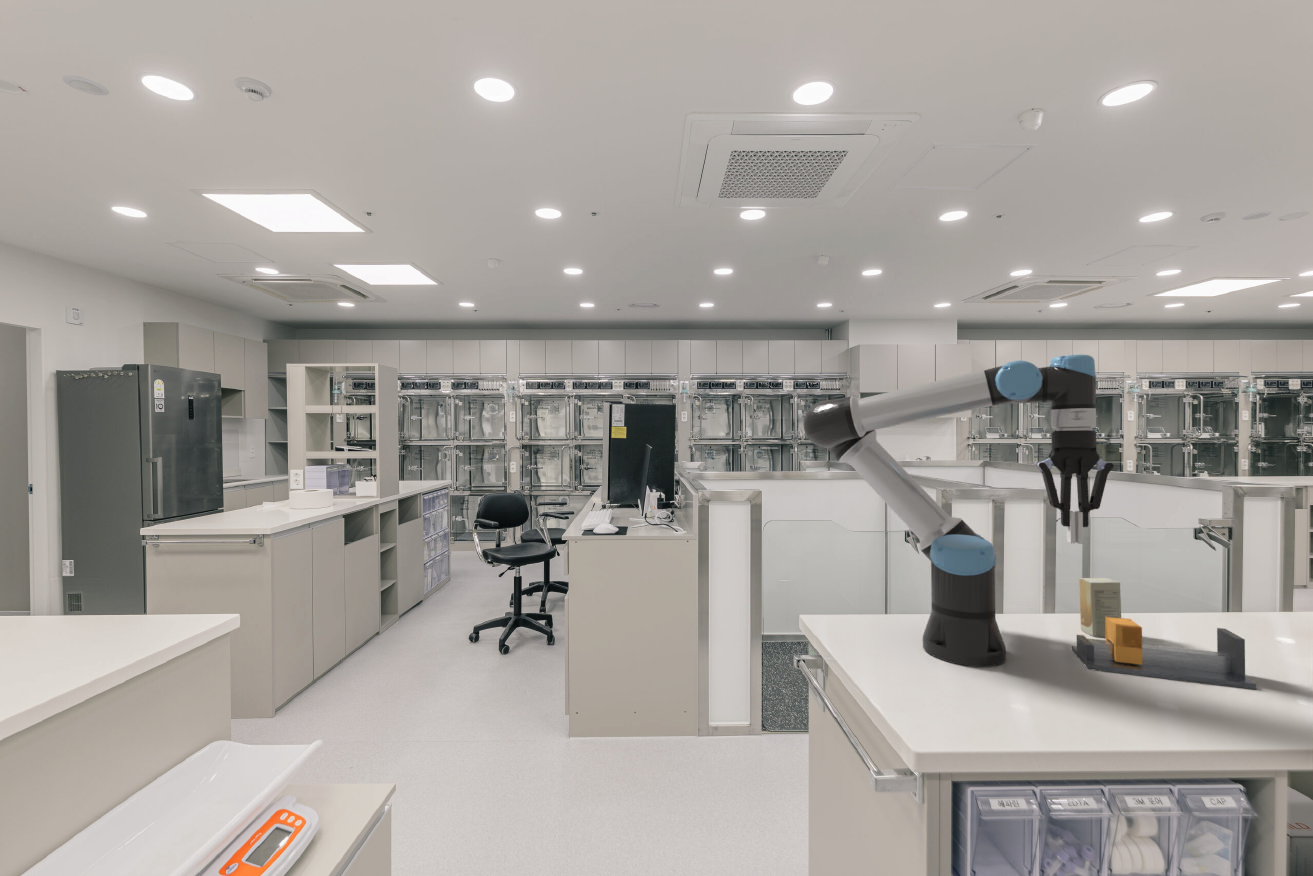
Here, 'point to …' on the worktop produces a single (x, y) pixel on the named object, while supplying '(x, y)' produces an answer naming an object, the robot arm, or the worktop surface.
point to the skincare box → (1098, 604)
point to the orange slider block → (1124, 639)
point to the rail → (1167, 672)
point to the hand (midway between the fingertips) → (1074, 542)
